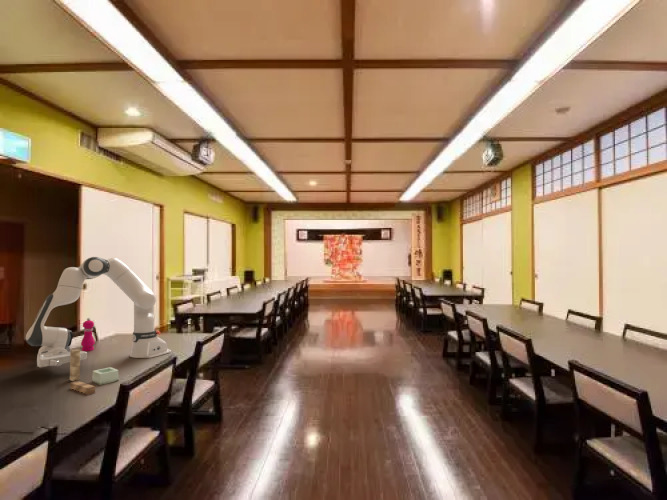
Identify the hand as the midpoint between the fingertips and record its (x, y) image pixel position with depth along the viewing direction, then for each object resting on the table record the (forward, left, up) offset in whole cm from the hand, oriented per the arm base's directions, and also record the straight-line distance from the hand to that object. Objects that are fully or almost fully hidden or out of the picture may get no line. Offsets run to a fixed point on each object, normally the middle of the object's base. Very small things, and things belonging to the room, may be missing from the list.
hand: (68, 361), depth 188 cm
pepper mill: (-30, -52, -8) cm, 61 cm away
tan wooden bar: (+3, +25, -8) cm, 26 cm away
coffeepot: (-13, -42, -8) cm, 45 cm away
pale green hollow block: (-9, +19, -8) cm, 22 cm away
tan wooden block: (-1, +6, -8) cm, 10 cm away
